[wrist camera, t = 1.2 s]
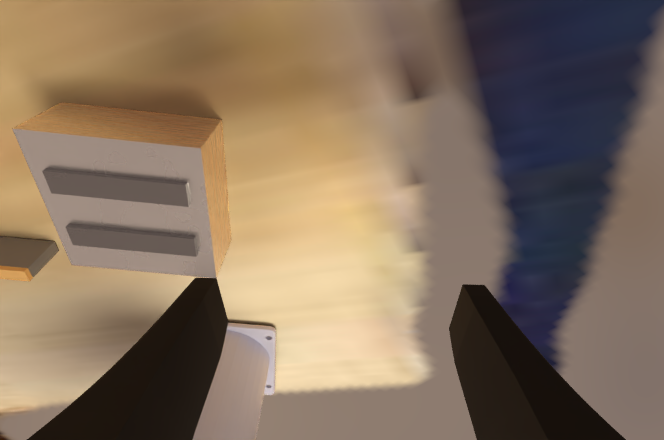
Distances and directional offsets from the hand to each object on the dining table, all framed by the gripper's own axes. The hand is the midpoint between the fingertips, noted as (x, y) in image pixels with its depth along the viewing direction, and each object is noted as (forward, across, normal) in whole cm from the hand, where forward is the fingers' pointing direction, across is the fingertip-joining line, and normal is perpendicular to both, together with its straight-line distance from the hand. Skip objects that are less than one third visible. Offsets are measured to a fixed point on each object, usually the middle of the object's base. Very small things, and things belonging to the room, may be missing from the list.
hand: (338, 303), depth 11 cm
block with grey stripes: (+11, +11, +2) cm, 15 cm away
